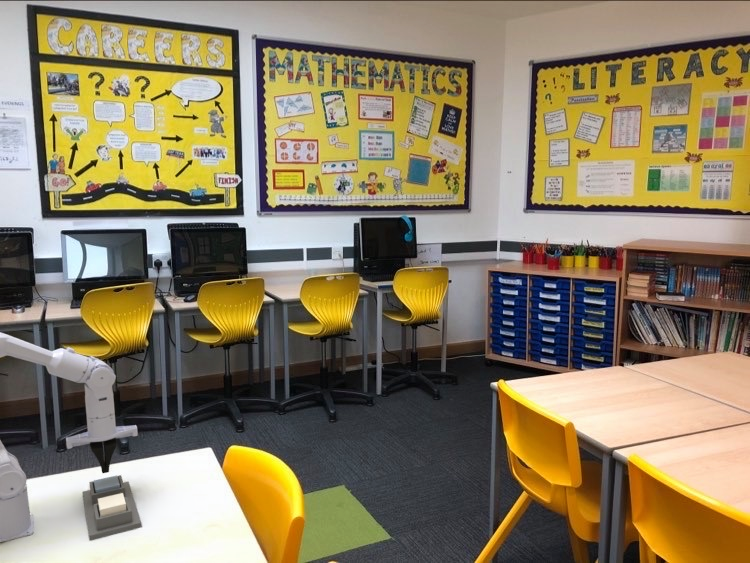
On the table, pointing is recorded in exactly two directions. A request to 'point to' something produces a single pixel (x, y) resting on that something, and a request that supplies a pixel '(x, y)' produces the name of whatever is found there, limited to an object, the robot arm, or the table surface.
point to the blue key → (106, 484)
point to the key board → (115, 521)
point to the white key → (111, 505)
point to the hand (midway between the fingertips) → (105, 471)
